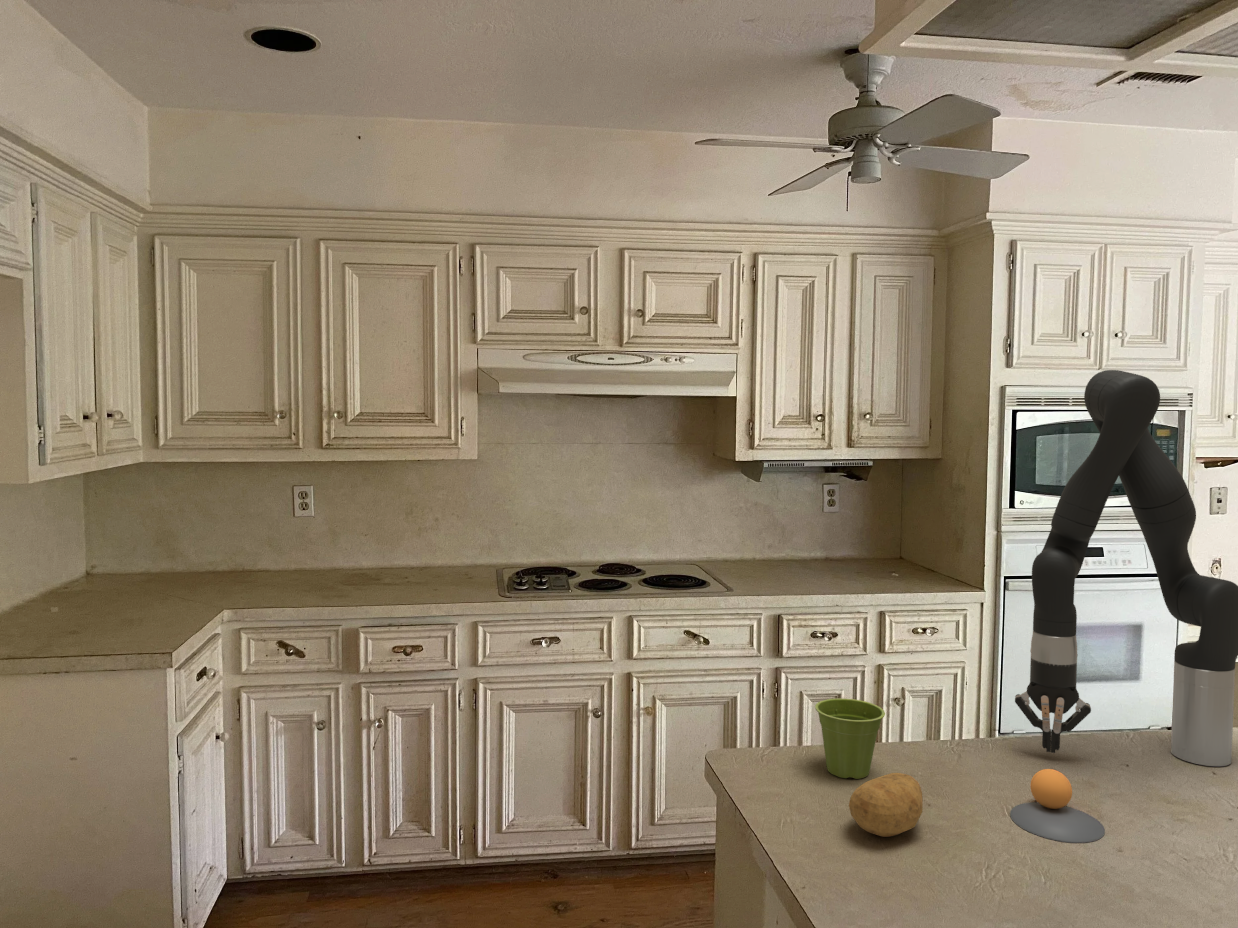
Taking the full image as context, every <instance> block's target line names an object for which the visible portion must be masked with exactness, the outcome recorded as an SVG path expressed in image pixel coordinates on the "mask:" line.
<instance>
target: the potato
mask: <svg viewBox="0 0 1238 928" xmlns="http://www.w3.org/2000/svg"><path fill="white" fill-rule="evenodd" d="M921 788H922V787H921V784H920V783H919V781H918V780H916V779H915V778H914V777H913V776H912V775H910V774H906V773H903V772H891V773H888V774H885V775H882V776H878V777H876V778H872V779H870V780H867V781H865V782H864V783H862V784H861V785H860V786H858V787H856V788H855V789H854V791H853V793H851V796H850V799H849V803H848V808H849V812H850V816H851V817H852V818H853V819H854V821H855V822H856V823H857V825H858V826H859V828H860V829H863V830H865V832H867V833H870V834H873V835H877V836H880V837H881V838H882V837H884V838H885V837H895V836H898V835H900V834H902V833H904V832H906V831H909V830H911V829H913V828H915V827H916V825H917V823H918V822H919V819H920V818H921V816H922V813H923V804H924V803H923V791H922V789H921Z"/></svg>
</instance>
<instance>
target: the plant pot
mask: <svg viewBox="0 0 1238 928" xmlns="http://www.w3.org/2000/svg"><path fill="white" fill-rule="evenodd" d="M814 708H815V711H816V712H817V714H818V719H819V723H820V726H821V732H822V733H821V735H822V740H823V742H822V743H823V748H824V757H825V762H826V763H825V764H826V769H827V771H828V773H830V774H831V775H832V776H836V777H838V778H841V779H847V778H853V779H855V780H860V779H864V778H866V777H867V776H869V774H870V770H871V766H872V763H873V762H872V760H873V755H874V751H875V745H876V741H877V736H878V731H879V730H880V727H881V723H882V719H884V718H885V715H886V711H885V710H884V709H883V708H882V707H880V706H879V705H876V704H874V703H872V702H869V701H864V700H859V699H853V698H843V697H842V698H840V697H839V698H838V697H837V698H827V699H824V700H821V701H818V702H817V703H815V706H814Z"/></svg>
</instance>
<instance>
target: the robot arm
mask: <svg viewBox="0 0 1238 928" xmlns="http://www.w3.org/2000/svg"><path fill="white" fill-rule="evenodd" d="M1083 396H1084V398H1083V399H1084V405H1085V408H1086V410H1087V413H1088V415H1089V416H1090V418H1091V420H1092V421H1093V424H1094V425H1095V427H1096V428H1097V430H1098V432H1099V436H1098V438H1097V440H1096V442H1095V445H1094V447H1093V448H1092V450H1091V451H1090V453H1089V455H1088V456H1087V457H1086V458H1085V460H1084V461H1083V462H1082V463H1081V465H1080V466H1079V467H1078V468H1077V469H1076V471H1074V473H1073V474H1072V476H1071V477H1070V478H1069V480H1068V481H1067V482H1066V484H1065V486H1064V488H1063V491H1062V492H1061V495H1060V497H1059V499H1058V502H1057V504H1056V507H1055V510H1054V513H1053V515H1052V518H1051V523H1050V527H1051V529H1050V532H1049V534H1048V537H1047V539H1046V541H1045V543H1044V546H1043V547H1042V550H1041V552H1040V553H1038V554H1037V555H1036V556H1035V558H1034V560H1033V562H1032V567H1031V586H1032V587H1031V588H1032V596H1033V603H1034V605H1033V618H1032V619H1033V621H1032V635H1031V640H1030V665H1029V666H1030V669H1029V684H1028V685H1027V687H1026V691H1024V692H1023V693H1021V694H1019V693H1018V694H1016V695H1015V696H1014V703H1015V704H1016V705H1017V707H1018V708H1019V709H1020V711H1021V712H1022V713H1023V715H1024V716H1025V717H1026V719H1027V721H1028V722H1029V723H1030V724H1031V725H1032V726H1033V727H1034V728H1038V729H1040V730H1041V731H1042V743H1041V744H1042V745H1041V746H1042V748H1043V749H1045V751H1046V753H1051V754H1055V753H1056V751H1059V750H1060V746H1061V745H1060V744H1061V733H1064V732H1068V733H1069V732H1071V731H1072V730H1074V728H1076V727H1077V726H1078V725H1079V724H1080V723H1081V722H1082V721H1083V720H1084V719H1085V718H1086V717H1088V716H1089V714H1090V713H1092V708H1091V704H1089V702H1085V701H1084V700H1083V699H1081V697H1080V694H1079V692H1078V690H1077V676H1078V675H1077V673H1078V656H1079V655H1078V642H1077V623H1078V622H1077V620H1078V617H1077V616H1078V614H1077V608H1076V605H1075V603H1074V602H1075V584H1076V583H1075V581H1076V578H1077V577H1078V575H1079V574H1080V571H1081V569H1082V567H1083V564H1084V560H1085V557H1086V554H1087V551H1088V547H1089V543H1090V540H1091V538H1092V536H1093V534H1094V532H1095V531H1096V528H1097V526H1098V524H1099V521H1100V519H1101V516H1102V514H1103V511H1104V509H1105V506H1106V504H1107V501H1108V499H1109V496H1110V494H1111V493H1112V492H1111V491H1112V490H1113V487H1114V486H1115V484H1116V481H1117V479H1118V478H1119V479H1120V482H1121V484H1122V486H1123V489H1124V492H1125V494H1126V497H1127V500H1128V503H1129V505H1130V508H1131V509H1132V512H1133V515H1134V518H1135V519H1136V522H1137V524H1138V527H1139V528H1140V530H1141V533H1142V535H1143V538H1144V540H1145V544H1146V546H1147V548H1148V552H1149V553H1150V557H1151V558H1152V559H1151V560H1152V563H1153V565H1154V568H1155V572H1156V575H1157V581H1158V583H1159V586H1160V590H1161V593H1162V594H1161V595H1162V598H1163V601H1164V604H1165V605H1166V608H1167V610H1168V612H1169V613H1170V615H1172V617H1173V618H1175V619H1176V620H1177V621H1180V622H1182V623H1184V624H1188V625H1192V626H1196V627H1200V630H1199V636H1198V639H1197V640H1196V641H1194V642H1193V641H1192V642H1182V643H1179V644H1177V645H1176V646H1175V648H1174V653H1173V654H1174V656H1173V659H1174V660H1173V686H1172V688H1173V689H1172V691H1173V693H1172V716H1171V717H1172V718H1171V736H1170V737H1171V743H1170V753H1171V754H1172V755H1173V756H1174V757H1176V758H1178V759H1180V760H1183V761H1185V762H1188V763H1192V764H1196V765H1200V766H1207V767H1226V766H1229V765H1231V763H1232V755H1233V754H1232V753H1233V731H1234V706H1235V686H1236V685H1235V681H1236V678H1235V677H1236V661H1237V660H1238V659H1237V658H1238V584H1237V583H1235V582H1233V581H1230V580H1227V579H1222V578H1218V577H1217V578H1216V577H1211V576H1207V575H1200V573H1198V571H1197V570H1196V568H1195V567H1194V565H1193V564H1194V563H1192V560H1191V557H1190V554H1189V547H1188V546H1189V545H1188V544H1189V541H1190V539H1191V536H1192V533H1193V531H1194V528H1195V524H1196V520H1197V511H1196V506H1195V503H1194V500H1193V498H1192V497H1191V493H1190V491H1189V488H1188V485H1187V483H1186V482H1185V479H1184V477H1183V476H1182V474H1181V473H1180V472H1179V470H1178V468H1177V467H1176V466H1175V465H1174V463H1173V461H1172V460H1171V459H1170V458H1169V457H1168V455H1167V453H1165V452H1164V451H1163V449H1162V448H1161V447H1160V446H1159V444H1158V443H1157V442H1156V440H1155V439H1154V437H1153V435H1152V434H1151V433H1150V431H1149V426H1150V424H1151V423H1152V421H1153V420H1154V418H1155V417H1156V416H1155V415H1156V414H1157V412H1158V409H1159V407H1160V404H1161V393H1160V389H1159V387H1158V385H1157V384H1156V383H1155V382H1154V381H1153V380H1151V379H1150V378H1149V377H1146V376H1143V375H1141V374H1136V373H1132V372H1128V371H1123V370H1118V369H1107V370H1103V371H1100V372H1098V373H1096V374H1094V375H1093V376H1092V377H1091V378H1090V379H1089V380H1088V382H1087V384H1086V387H1085V390H1084V395H1083ZM1029 698H1030V699H1029ZM1030 700H1031V701H1030ZM1030 702H1033V704H1034V705H1035V706H1036V708H1037V709H1038V710H1039V711H1041V718H1042V719H1041V718H1039V716H1038V715H1037V714H1036V712H1035V711H1034V710H1033V708H1032V707H1031V706H1030ZM1075 704H1076V705H1075ZM1074 705H1075V707H1074ZM1072 707H1074V709H1075V711H1074V713H1072V714H1071V715H1070V716H1069V717H1068V718H1067V719H1066V720H1065V721H1063V715H1065V714H1066V713H1067V712H1068V711H1070V709H1071V708H1072ZM1051 713H1052V714H1053V723H1052V728H1051V720H1050V719H1051V718H1050V716H1051V715H1050V714H1051Z"/></svg>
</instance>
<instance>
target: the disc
mask: <svg viewBox="0 0 1238 928" xmlns="http://www.w3.org/2000/svg"><path fill="white" fill-rule="evenodd" d="M1009 813H1010V814H1009V816H1010V818H1011V820H1012V822H1013V823H1014V824H1015V825H1017V826H1018V827H1020V828H1021V829H1023V830H1024V831H1026V832H1028V833H1030V834H1033V835H1034V836H1038V837H1041V838H1045V839H1047V840H1053V841H1055V842H1061V843H1062V842H1063V843H1068V844H1069V843H1071V844H1082V843H1083V844H1084V843H1085V844H1088V843H1093V842H1096V841H1098V840H1100V839H1102V838H1103V837H1104V836H1105V826H1104V825H1103V824H1102V823H1101V821H1099V820H1098V819H1097V818H1096V817H1094V816H1092V815H1091V814H1088V813H1087V812H1085V811H1082V810H1080V809H1077V808H1074V807H1071V806H1068V805H1066V806H1064V807H1062V808H1059V809H1050V808H1047V807H1044V806H1042V805H1041V804H1040V803H1038V802H1037V801H1035V802H1032V801H1031V802H1024V803H1020V804H1016V805H1015V806H1013V807H1012V808H1011V809H1010V812H1009Z"/></svg>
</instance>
